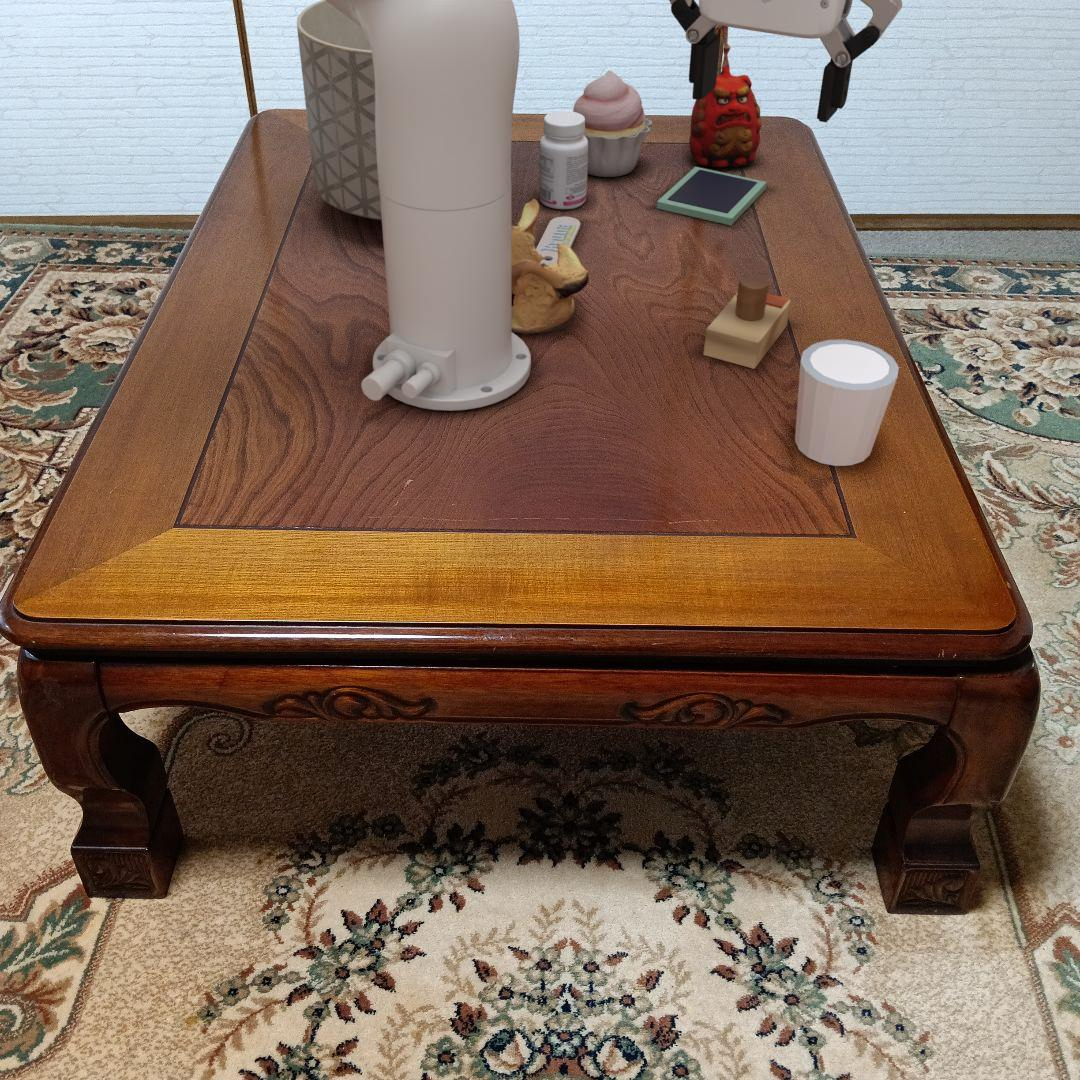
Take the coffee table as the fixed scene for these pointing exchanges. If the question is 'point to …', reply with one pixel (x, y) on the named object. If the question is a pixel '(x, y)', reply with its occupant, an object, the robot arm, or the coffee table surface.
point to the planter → (340, 109)
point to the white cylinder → (842, 400)
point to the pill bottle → (563, 161)
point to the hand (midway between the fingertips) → (764, 104)
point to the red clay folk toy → (726, 120)
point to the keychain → (557, 237)
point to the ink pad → (712, 195)
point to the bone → (542, 280)
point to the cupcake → (612, 125)
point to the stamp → (747, 324)
